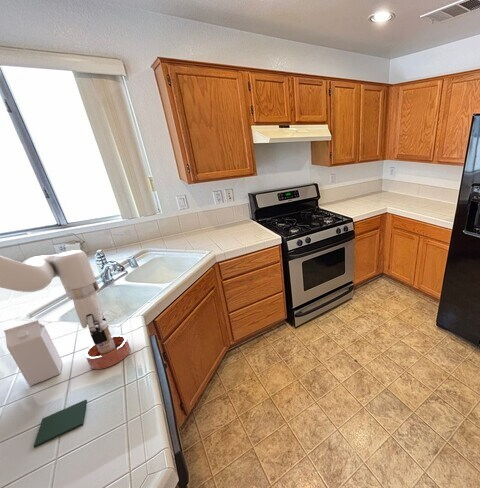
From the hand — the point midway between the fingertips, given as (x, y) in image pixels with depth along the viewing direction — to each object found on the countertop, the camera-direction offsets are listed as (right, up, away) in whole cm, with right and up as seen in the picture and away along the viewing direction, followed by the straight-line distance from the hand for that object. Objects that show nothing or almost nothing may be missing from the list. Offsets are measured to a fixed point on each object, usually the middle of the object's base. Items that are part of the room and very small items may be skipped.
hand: (102, 335), depth 88 cm
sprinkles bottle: (+1, -9, +3) cm, 9 cm away
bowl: (+1, -9, +3) cm, 9 cm away
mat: (+6, -16, -19) cm, 26 cm away
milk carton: (-16, -12, -2) cm, 20 cm away
